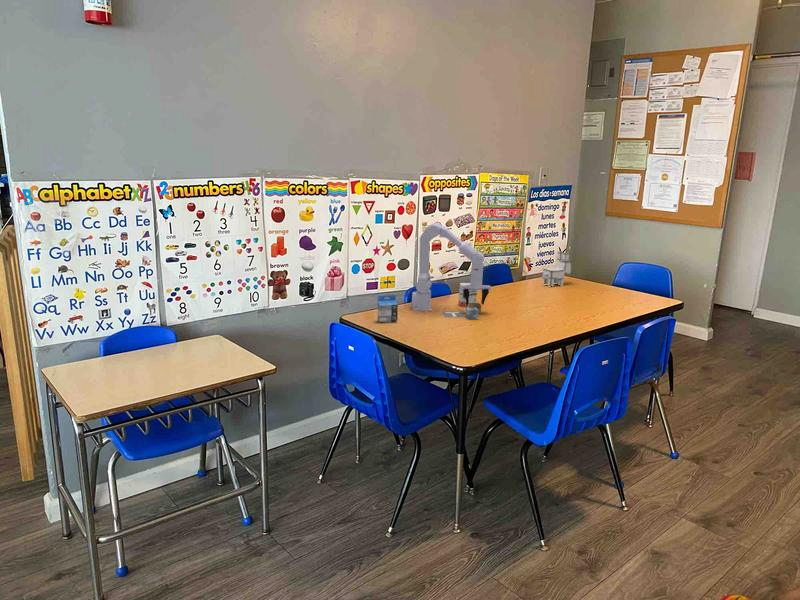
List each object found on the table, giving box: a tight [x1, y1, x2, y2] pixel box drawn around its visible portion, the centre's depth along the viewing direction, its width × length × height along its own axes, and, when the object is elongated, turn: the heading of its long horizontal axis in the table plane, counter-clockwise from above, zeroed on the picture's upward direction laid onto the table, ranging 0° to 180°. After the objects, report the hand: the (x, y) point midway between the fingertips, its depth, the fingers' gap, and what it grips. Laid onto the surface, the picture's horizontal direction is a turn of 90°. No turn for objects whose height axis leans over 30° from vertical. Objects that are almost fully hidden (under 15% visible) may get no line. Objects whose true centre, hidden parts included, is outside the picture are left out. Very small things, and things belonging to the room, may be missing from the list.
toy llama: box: [541, 250, 573, 286], centre depth 361 cm, size 8×18×20 cm, turn 117°
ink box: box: [457, 282, 478, 308], centre depth 308 cm, size 8×5×12 cm, turn 99°
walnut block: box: [469, 302, 482, 316], centre depth 295 cm, size 5×5×5 cm
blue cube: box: [464, 307, 479, 321], centre depth 286 cm, size 5×5×5 cm
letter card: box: [441, 311, 466, 318], centre depth 293 cm, size 10×10×1 cm
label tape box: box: [377, 294, 399, 323], centre depth 277 cm, size 9×4×12 cm, turn 105°
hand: (474, 304), depth 294 cm, fingers open, 7 cm apart
